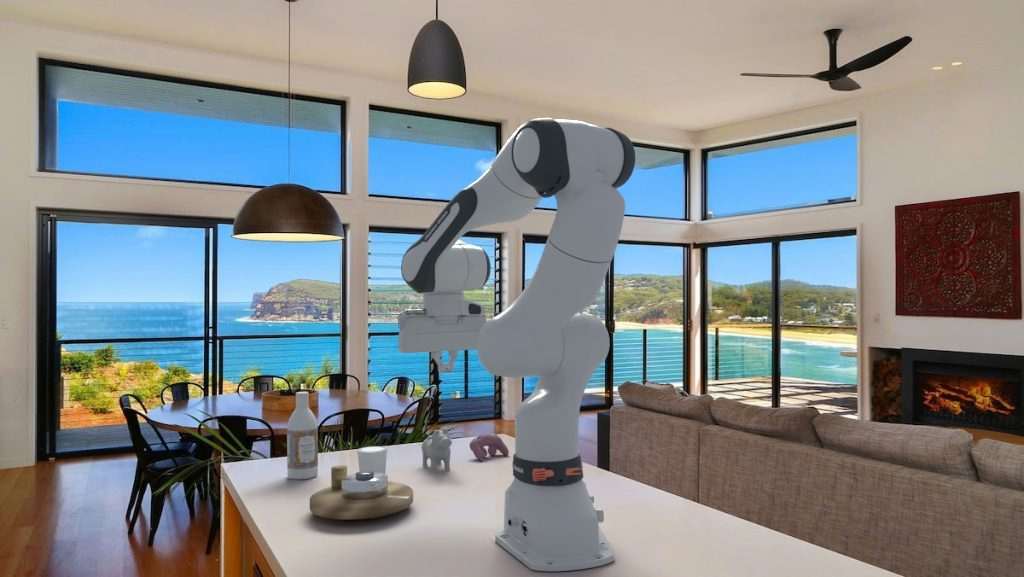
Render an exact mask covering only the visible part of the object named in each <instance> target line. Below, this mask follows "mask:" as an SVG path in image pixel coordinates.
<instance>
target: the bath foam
mask: <svg viewBox="0 0 1024 577" xmlns="http://www.w3.org/2000/svg"><path fill="white" fill-rule="evenodd" d="M309 398H310V397H309V392H308V391H298V392H295V408H294V410H293V412H292V413H291V415H290V417H289V418H288V422H287V428H286V445H287V446H286V448H287V449H286V450H287V451H286V452H287V453H286V455H287V457H286V458H287V459H286V460H287V461H286V463H287V466H286V468H287V478H288V479H290V480H295V481H297V480H298V481H301V480H309V479H313V478H316V477H317V476H318V473H319V447H318V445H319V443H318V442H319V441H318V440H319V439H318V438H319V437H318V436H319V433H318V432H319V431H318V429H319V428H318V422H317V418H316V416H315V414H314V412H313V411H312V410H311V409H310V407H309V404H310V403H309V402H310V401H309Z"/></svg>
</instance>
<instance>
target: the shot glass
mask: <svg viewBox="0 0 1024 577" xmlns="http://www.w3.org/2000/svg"><path fill="white" fill-rule="evenodd" d="M356 452H357V459H358V460H357V462H358V469H359V470H358V472H360V471H373V472H376V473H383V474H386V468H387V457H388V456H387V454H388V447H386V446H381V445H372V446H365V447H359V448H358V449H357V451H356Z"/></svg>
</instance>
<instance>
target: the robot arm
mask: <svg viewBox="0 0 1024 577" xmlns="http://www.w3.org/2000/svg"><path fill="white" fill-rule="evenodd" d="M635 165H636V150H635V146H634V144H633V142H632V141H631V139H630V138H629V137H628V136H627V135H626V134H624V133H622V132H621V131H619V130H617V129H614V128H612V127H602V126H598V125H595V124H591V123H586V122H585V121H583V120H582V121H581V120H573V119H554V118H551V117H539V118H538V117H537V118H534V119H529V120H528V121H526V122H523V123H522V124H521V125H520V126H519V127H518V128H517V129H516V130H515V131H514V132H513V133H512V135H511V136H510V137H509V138H508V139H507V141H506V142H505V144H503V146H502V147H501V149H500V150H499V151H498V153H497V155H496V156H495V158H494V160H493V162H492V164H491V165H490V166H489V168H488V169H487V170H486V171H485V172H484V173H483V174H481V176H480V177H478V178H477V179H476V180H475V181H473V182H472V183H471V184H470V185H468V186H466V187H465V188H462V189H461V190H459V191H458V192H457V193H456V194H455V195H454V196H453V197H452V198H451V199H450V200H449V201H448V203H447V204H446V206H444V208H443V209H442V211H441V212H440V213H439V214H438V216H437V217H436V218H435V219H434V220H433V222H432V224H430V226H429V227H428V228H427V229H426V231H425V232H423V235H422V236H421V237H420V238H418V240H416V241H415V242H413V243H412V244H411V246H409V248H408V249H407V250H406V251H405V253H404V255H403V256H402V260H401V266H400V271H401V272H400V273H401V276H402V279H403V281H404V283H405V284H406V285H408V287H409V288H411V289H412V290H413V291H414V292H416V293H417V294H422V299H423V300H422V302H423V306H422V307H423V308H417V309H409V308H408V309H404V311H402V312H400V313H399V314H398V317H397V327H398V329H399V332H398V340H397V341H398V343H397V346H398V350H399V351H400V352H401V353H402V354H419V353H432V358H433V360H434V361H435V363H436V365H437V371H438V373H439V374H445V373H454V372H455V371H454V364H455V362H456V360H457V359H458V357H459V351H468V350H469V351H473V350H476V352H477V357H478V359H479V362H480V364H481V366H482V367H483V368H484V370H485V371H486V372H488V373H489V374H490V375H492V376H496V377H497V376H499V377H505V378H513V379H523V378H533V377H534V378H535V377H538V379H537V383H536V385H535V388H534V390H533V391H532V392H531V394H530V395H529V396H528V397H527V398H525V399H524V400H523V401H522V402H520V404H518V407H517V408H516V411H515V414H514V441H515V443H514V446H515V447H514V451H515V452H514V454H513V456H512V463H511V465H512V466H511V467H512V476H513V477H514V478H513V480H512V482H511V483H510V485H509V486H508V487H507V489H505V492H504V509H503V510H504V512H503V530H500V531H498V532H497V533H496V534H495V538H494V541H495V543H497V544H499V545H500V546H501V547H502V548H504V549H505V550H506V551H508V552H509V553H510V554H511V555H513V557H515V558H516V559H517V560H519V561H520V562H521V563H523V565H525V566H526V567H528V569H530V570H533V571H538V572H565V571H567V572H569V571H576V570H584V569H590V568H596V567H601V566H604V565H607V564H610V563H611V562H614V561H615V554H614V551H613V549H612V548H611V546H610V543H609V542H608V540H607V539H606V537H605V535H604V532H603V531H602V529H601V527H600V525H599V524H600V523H601V524H602V523H603V522H604V520H605V517H604V515H605V514H604V510H603V508H601V507H597V508H596V507H595V508H594V503H595V497H594V495H593V494H590V493H589V491H588V488H587V484H586V483H585V481H583V478H584V471H583V470H584V469H583V468H584V467H583V462H582V456H581V454H580V453H579V424H580V423H579V421H580V418H579V416H580V410H581V405H582V400H583V397H584V394H585V390H586V389H587V386H588V383H589V381H590V379H591V377H593V374H594V373H595V372H596V370H597V369H598V368H599V367H600V366H601V365H602V364H603V363H604V362H605V361H606V358H607V357H608V354H609V351H610V343H611V342H610V335H609V332H608V329H607V327H606V325H605V324H604V322H603V321H602V320H601V319H600V318H599V317H596V316H594V315H589V314H585V313H580V312H581V311H583V310H584V309H586V308H588V307H589V306H590V305H592V303H594V301H595V300H596V299H597V298H598V296H599V295H600V294H599V293H600V291H601V288H602V286H603V283H604V281H605V278H606V276H607V273H608V270H609V268H610V266H611V262H612V260H613V257H614V254H615V252H616V249H617V247H618V246H617V245H618V242H619V240H620V236H621V232H622V228H623V224H624V218H625V212H626V202H625V199H624V197H623V195H622V194H621V192H620V191H619V190H618V188H621V187H622V186H624V185H626V183H628V181H629V179H630V178H631V176H632V175H633V172H634V170H635ZM553 196H554V199H555V201H556V212H555V217H554V220H553V223H552V225H551V228H550V230H549V233H548V237H547V240H546V242H545V245H544V248H543V251H542V253H541V256H540V259H539V261H538V264H537V267H536V269H535V272H533V273H534V274H533V275H532V277H531V279H530V280H529V283H528V284H527V285H526V286H525V288H524V289H523V290H522V292H521V293H520V294H519V295H518V297H517V298H516V299H515V300H513V301H512V303H511V304H509V306H507V307H506V309H504V310H503V311H501V312H499V313H498V314H497V315H495V316H494V317H491V318H489V319H487V318H486V317H485V316H484V315H485V314H486V307H485V305H482V304H479V303H477V302H473V301H470V300H467V299H465V294H464V292H467V291H468V292H470V291H471V292H472V291H476V290H481V289H482V288H483V287H484V286H485V285H486V284H487V283H488V281H489V279H490V276H491V272H492V270H491V261H490V257H489V255H488V253H487V251H486V250H484V248H482V247H481V246H478V245H474V244H471V243H468V242H465V241H463V240H462V239H461V237H462V236H464V235H465V234H466V233H468V232H470V231H472V230H474V229H478V228H480V227H485V226H490V225H491V226H492V225H496V224H502V223H503V224H504V223H509V222H511V223H512V222H515V221H519V220H521V219H523V218H525V217H527V216H528V215H529V214H530V213H531V212H532V211H533V210H535V208H536V207H538V205H539V203H540V202H541V201H542V200H543V199H545V198H550V197H553ZM443 352H448V356H449V359H448V361H447V363H444V362H443V360H442V359H441V357H443Z"/></svg>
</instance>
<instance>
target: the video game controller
mask: <svg viewBox="0 0 1024 577" xmlns="http://www.w3.org/2000/svg"><path fill="white" fill-rule="evenodd" d="M485 447H488V448H487V449H486V448H485ZM469 448H470V450H471V452H472V453H473V455H474V457H475V458H476V459H477V460H478V461H480V462H483V461H484V459H485V457H487V456H488V455H489V456H491V457H494V456H495V455H496V454H497V451H498V452H500V453H501V454H502V455H503V456H505V457H508V456H509V454H510V452H509V449H508V447H507V445H506V444H505V443H504V441H503V439H502V438H501V437H500V436H499V435H497V434H490V433H487V434H482V435H478V436H477V437H474V438H473V439H472V440H471V441H470V442H469Z"/></svg>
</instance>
